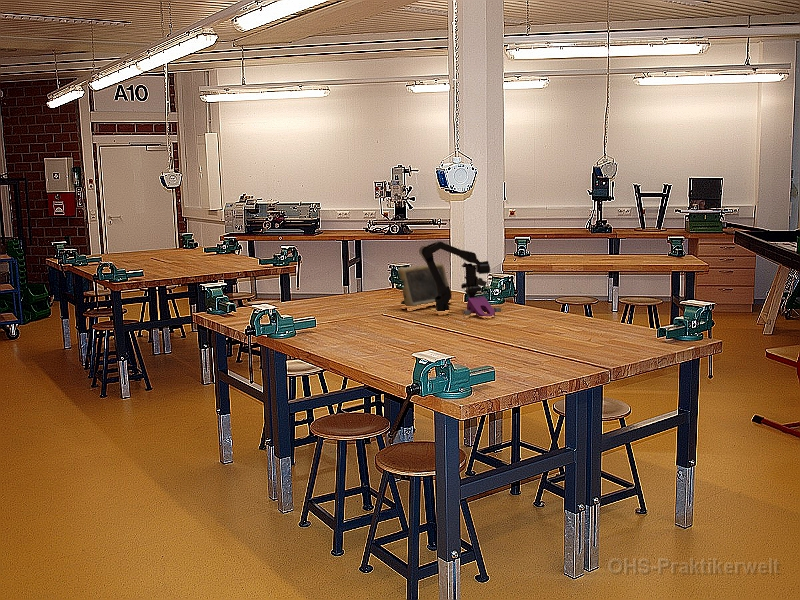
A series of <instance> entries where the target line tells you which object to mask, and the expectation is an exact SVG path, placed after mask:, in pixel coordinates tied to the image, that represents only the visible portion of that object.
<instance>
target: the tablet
mask: <svg viewBox="0 0 800 600" xmlns="http://www.w3.org/2000/svg"><path fill="white" fill-rule="evenodd" d="M435 265H436V267H437V269H438V271H439V274H440V276H441V278H442V280H443V283H444V284H445V285H448V286H449V287H450V285H449V281H448V278H447V275H446V270H445V269H446V268H445V266H444V264H443V263H442V261H436V262H435ZM397 273H398V275H399V279H400V280H401V281H402V284H403V286H402V297H403V300H401V301H400V305H401V304H405V305H406V306H417V305H421V304H428V303H433V302H435V298H436V297H437V296H438V292H437V285H436V283H435V281H434V279H433V276H432V274H431V272H430V270H429V267H428V265H427V264H424V265H415V266H407V267H406V266H405V267H404V266H400V267H399V268H398V269H397ZM451 299H452V297H451ZM452 300H453V299H452Z"/></svg>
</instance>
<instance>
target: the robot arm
mask: <svg viewBox="0 0 800 600" xmlns="http://www.w3.org/2000/svg"><path fill="white" fill-rule="evenodd" d="M439 250H442V251H445V252H448V253H451V254H452V255H455V256H457V257H459V258H460V259H462V260H463V261H465V262H463V264H462V265H461V268H464V269H465V276H464V279H465V282H464V283H462V284H461V287H460V288H461V289H463V290H464V292H465V294H466V296H467V299H468V298H473V297H476V294H477V293H478V292H483V288H486V286H487V283H488V281H485V280H483V278H482V277H478V276H477V273H478V274H479V275H482V274H483V275H486V274H490V273H491V267H490V263H489V261H488V260H485V261H480V260H479V259H478V257H477V255H476V253H475V252H473V251H469V250H464V249H460V248H458V247H455V246H452V245H451V244H447V243H445V242H443V241H440V240H437V241H436V242H433V243H430V244H428V245H422V246H420V247H419V249H418V253H419V255H420V257H421V258H422V260H423V261H424V262H425V263H426V265H428V267H429V270H430V272H431V274H432V276H433V279H434V281H435V283H436V285H437V292H438V296H437V297H436V298H435V302H436V306H435V311H436V310H437V311H445V310H449V311H450V305H449V304H448V302H449V300H450V299H451V298H452V293H453V292H452V291H451V288H450V285H449V286H448V285H445V284H444V283H443V280H442V278H441V276H440V274H439V271H438V269H437V267H436V265H435V263H436V262H435V259H434V253H436V252H437V251H439ZM482 287H483V288H482Z"/></svg>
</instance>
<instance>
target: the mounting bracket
mask: <svg viewBox="0 0 800 600" xmlns="http://www.w3.org/2000/svg"><path fill="white" fill-rule="evenodd" d="M466 310H470V311H471V313H476V316H478V315H479V316H492V315H494V316H495V310H494V307H493V306H492V305H491V303H489V301H488V300H487V298H486V297H485V295H482V296H475V297H473V298H468V297H467V302H466ZM483 311H484V312H487V313H488V314H485V313H484V312H483ZM479 316H478V317H479Z"/></svg>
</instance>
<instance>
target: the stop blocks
mask: <svg viewBox="0 0 800 600" xmlns="http://www.w3.org/2000/svg"><path fill="white" fill-rule="evenodd" d="M493 309H494V310H495V312H501V313H502V307H500V306H496V307H493ZM462 313H463V314H465V315H470V314H471V311H470V310H467V309H463V312H462ZM463 314H462V315H463Z"/></svg>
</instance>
